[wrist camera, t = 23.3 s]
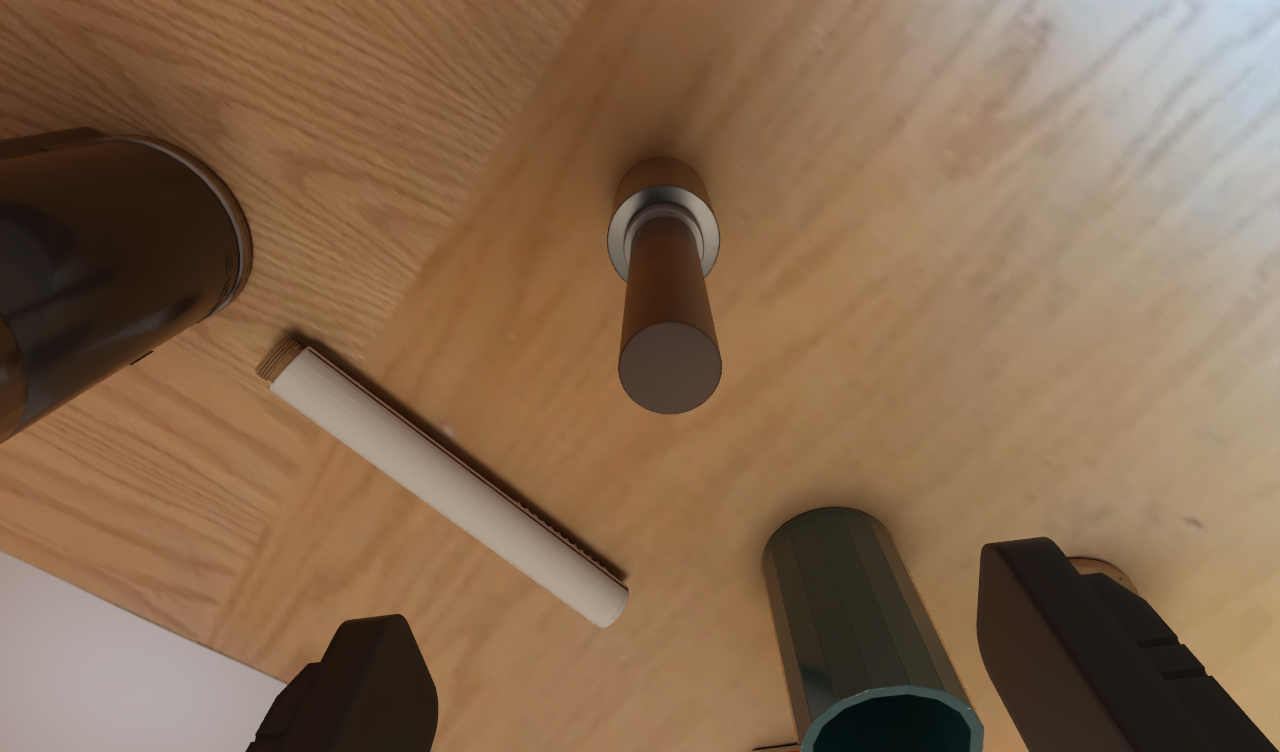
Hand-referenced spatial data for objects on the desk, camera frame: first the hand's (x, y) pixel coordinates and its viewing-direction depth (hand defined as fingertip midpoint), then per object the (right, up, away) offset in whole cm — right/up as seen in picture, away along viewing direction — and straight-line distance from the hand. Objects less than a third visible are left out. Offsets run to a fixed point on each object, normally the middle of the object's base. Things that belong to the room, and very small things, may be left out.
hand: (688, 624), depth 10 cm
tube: (-11, -2, +32) cm, 34 cm away
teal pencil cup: (+11, -8, +34) cm, 37 cm away
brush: (0, +12, +25) cm, 27 cm away
